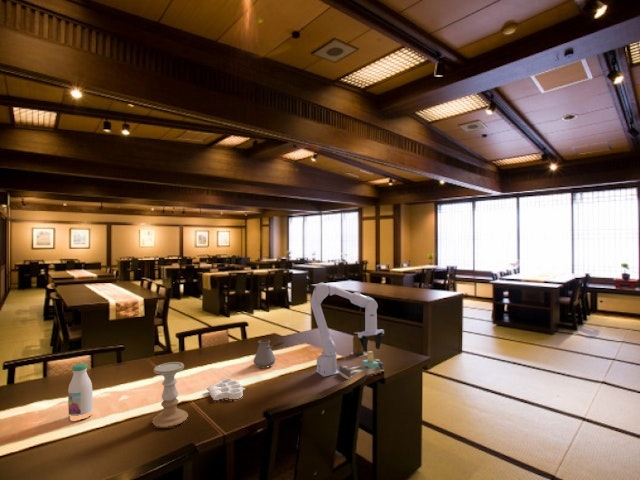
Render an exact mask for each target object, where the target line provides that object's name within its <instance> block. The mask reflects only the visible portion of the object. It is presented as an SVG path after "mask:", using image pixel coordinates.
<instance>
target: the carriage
mask: <svg viewBox="0 0 640 480" xmlns="http://www.w3.org/2000/svg"><path fill="white" fill-rule="evenodd" d="M366 353H367V355H366V357H367V359H363V360H361V361H362V362H361V363H362V365H364V366H366V367H368V368H370V369H372V368H377V367H379V363H378V362H376V361H374V359H375V358H374V351H373V350H369V351H368V350H367V352H366Z"/></svg>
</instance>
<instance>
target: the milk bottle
mask: <svg viewBox="0 0 640 480" xmlns="http://www.w3.org/2000/svg"><path fill="white" fill-rule="evenodd" d="M87 370H88V364H87V363H86V362H84V363H83V362H82V363H81V362H80V363H77V364H74V365H72V378H71V381H70V383H69V385H68V388H67V390H68V393H67V400H68V402H67V403H68V404H67V407H68V416H69V415H71V416H79V415H83V414H86V413H88V412H90V411H91V410H92V409H93V410H94V401H93V399H94V398H93V397H94V396H93V383H92V380H91V379H90V376H89V375H88V373H87Z"/></svg>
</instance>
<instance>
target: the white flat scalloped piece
mask: <svg viewBox="0 0 640 480" xmlns="http://www.w3.org/2000/svg"><path fill="white" fill-rule="evenodd" d="M218 387H221V388H218ZM207 390H208V391H209V393H210V394H209V393H208V394H209V396H210V395H211V396H210V397H211V398H212V401H214V400H219V399H223V398H229V399H239V398H241V397H242V396H243V397H244V395H243V394H244V392H243V391H244V390H246V388H245V387H243V385H242V383H240V382H239V381H237V380H234V379H233V378H224V379H221V380H220V381H219V382H218V383H214V384H212V385H209V386H208V387H206V391H207ZM243 397H242V398H243ZM242 398H241V399H242ZM239 400H240V399H239Z"/></svg>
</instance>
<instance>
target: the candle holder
mask: <svg viewBox="0 0 640 480" xmlns="http://www.w3.org/2000/svg"><path fill="white" fill-rule="evenodd" d="M184 368H185V364H184V363H183V362H180V361H171V362H166V363H165V362H163V363H162V364H159V365H156V366H155V367H154V368H153V372H154V374H157V375H161V376H162V377H163V378H164V380H163V381H162V382H161V385H162V386H163V390H162V394H161V399H162V402H161V406H162V407H163V409H162V411H161V412H159V413H158V414H157V415H156V416H155V417H153V418H152V420H153V421H152V420H151V424H152V423H153V424H154V425H156V426H160V427H168V426H173V425H177V424H180V423H182V422H183V421H185V420H186V419H187V417H188V418H189V414H188V412H187V411H185V410H184V409H180V408H178V407H177V405H178V404H179V399H178V396H179V394H178V390H177V387H176V384H177V382H178V380H177V379H176V378H175V376H176V375H177V373H178V372H181V371H183V369H184ZM187 420H188V419H187ZM187 420H186V421H187Z"/></svg>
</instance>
